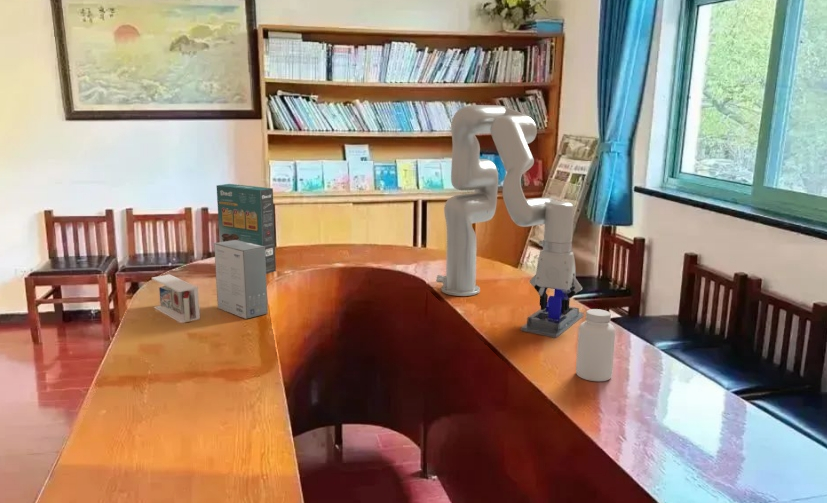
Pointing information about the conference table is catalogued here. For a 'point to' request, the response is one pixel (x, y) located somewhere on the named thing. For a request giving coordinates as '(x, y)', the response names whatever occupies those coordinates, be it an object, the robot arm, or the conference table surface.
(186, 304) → the cigarette display
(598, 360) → the pill bottle
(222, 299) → the hard drive box
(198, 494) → the conference table surface
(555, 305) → the cable clip
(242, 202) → the cake mix box
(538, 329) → the grey rectangular tray
